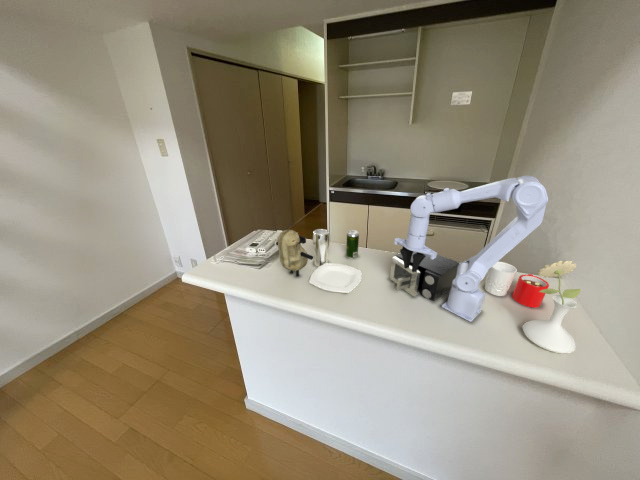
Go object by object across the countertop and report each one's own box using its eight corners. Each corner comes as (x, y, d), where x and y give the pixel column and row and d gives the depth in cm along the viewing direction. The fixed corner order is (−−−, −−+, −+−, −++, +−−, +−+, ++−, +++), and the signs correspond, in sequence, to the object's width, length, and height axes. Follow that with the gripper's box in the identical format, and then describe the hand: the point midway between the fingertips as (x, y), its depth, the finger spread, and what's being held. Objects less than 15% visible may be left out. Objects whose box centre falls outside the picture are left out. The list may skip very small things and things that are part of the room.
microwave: (432, 302, 87) (437, 277, 83) (388, 279, 100) (391, 257, 96) (453, 285, 96) (459, 262, 92) (411, 267, 109) (414, 245, 104)
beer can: (360, 256, 117) (361, 232, 112) (351, 260, 114) (353, 235, 109) (351, 252, 121) (352, 229, 116) (343, 255, 118) (344, 232, 113)
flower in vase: (563, 332, 74) (602, 256, 64) (581, 363, 65) (630, 280, 54) (510, 320, 79) (538, 248, 69) (519, 347, 70) (553, 268, 59)
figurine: (322, 276, 102) (322, 230, 94) (301, 290, 94) (298, 241, 86) (289, 261, 114) (286, 219, 105) (267, 272, 106) (262, 227, 97)
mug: (535, 290, 93) (543, 272, 90) (543, 310, 83) (552, 290, 80) (509, 285, 96) (515, 266, 93) (513, 303, 87) (521, 283, 83)
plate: (366, 273, 104) (367, 269, 103) (351, 301, 88) (351, 296, 87) (323, 264, 111) (323, 260, 111) (302, 287, 96) (302, 283, 95)
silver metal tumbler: (332, 262, 113) (332, 230, 107) (323, 269, 108) (323, 236, 101) (318, 258, 116) (318, 227, 110) (310, 264, 111) (309, 232, 105)
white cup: (482, 282, 98) (489, 259, 94) (507, 288, 94) (516, 264, 90) (482, 292, 92) (489, 269, 88) (508, 299, 88) (518, 275, 84)
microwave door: (401, 300, 88) (405, 276, 84) (378, 282, 98) (381, 260, 94) (416, 295, 91) (420, 272, 86) (392, 277, 101) (395, 256, 97)
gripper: (445, 237, 80) (436, 274, 86) (404, 223, 90) (399, 257, 96) (433, 243, 76) (425, 281, 81) (392, 228, 86) (387, 263, 92)
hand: (410, 269), depth 88 cm, fingers closed
